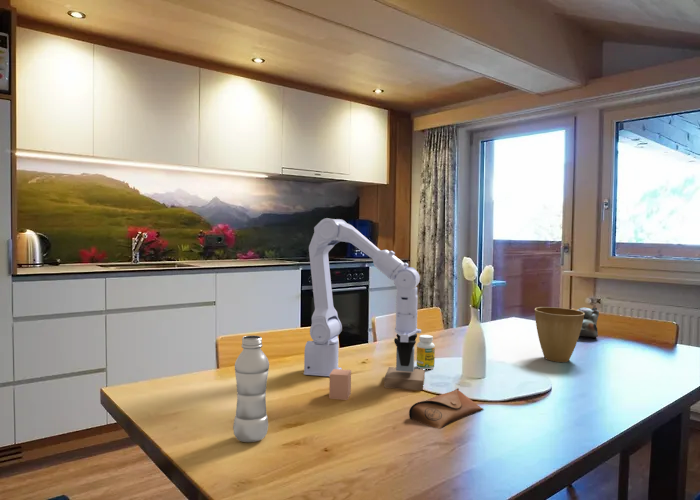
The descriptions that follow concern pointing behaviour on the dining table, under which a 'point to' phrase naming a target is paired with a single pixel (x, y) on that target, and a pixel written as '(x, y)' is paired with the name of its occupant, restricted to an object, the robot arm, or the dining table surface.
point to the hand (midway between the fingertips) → (405, 363)
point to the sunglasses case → (443, 409)
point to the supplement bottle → (425, 352)
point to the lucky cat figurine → (589, 322)
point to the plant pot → (558, 331)
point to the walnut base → (404, 379)
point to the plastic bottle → (251, 391)
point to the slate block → (405, 368)
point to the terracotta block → (340, 384)
